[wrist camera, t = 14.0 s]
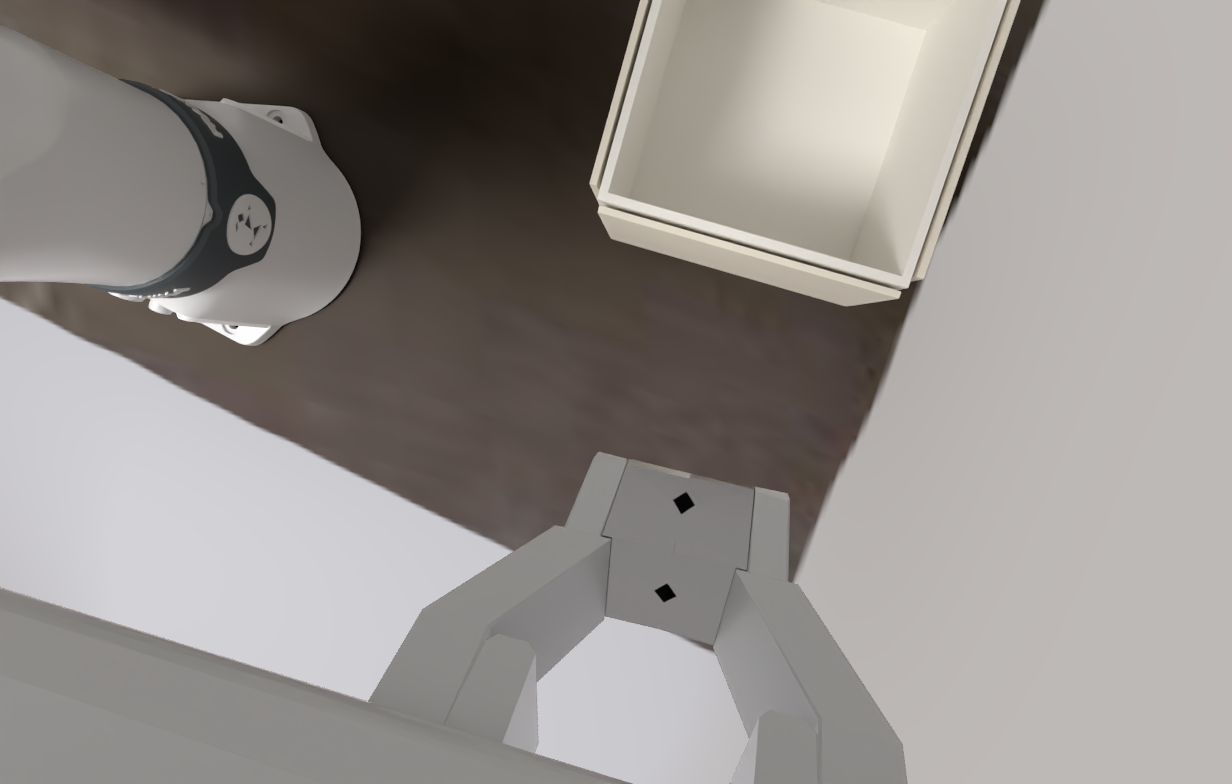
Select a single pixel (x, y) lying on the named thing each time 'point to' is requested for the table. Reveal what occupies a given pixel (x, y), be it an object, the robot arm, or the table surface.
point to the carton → (797, 135)
